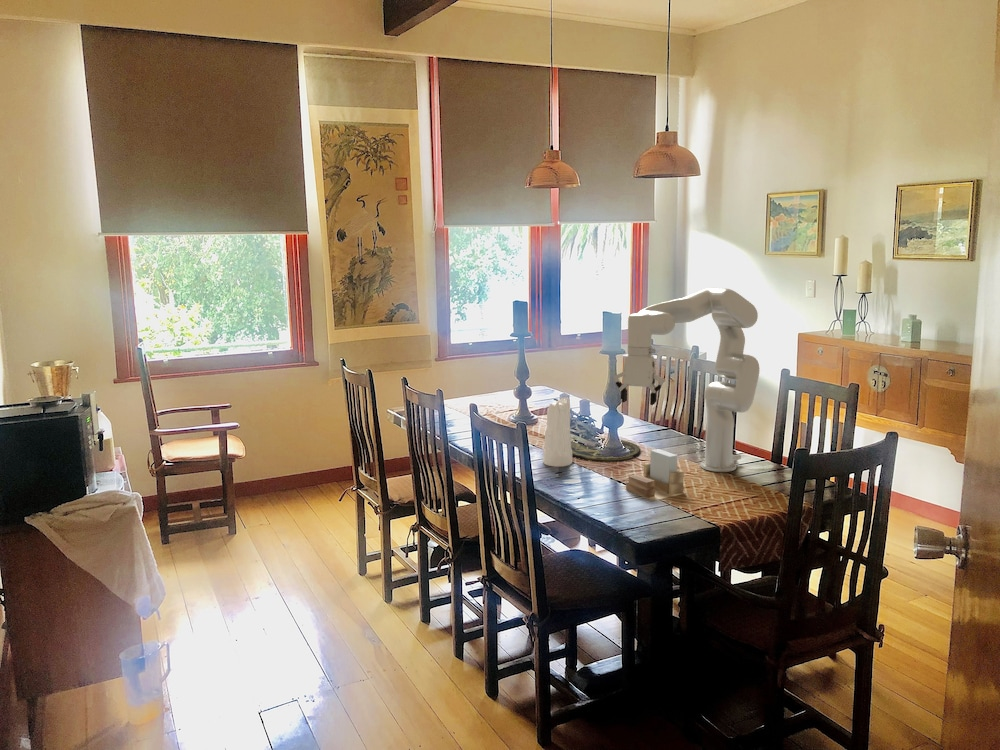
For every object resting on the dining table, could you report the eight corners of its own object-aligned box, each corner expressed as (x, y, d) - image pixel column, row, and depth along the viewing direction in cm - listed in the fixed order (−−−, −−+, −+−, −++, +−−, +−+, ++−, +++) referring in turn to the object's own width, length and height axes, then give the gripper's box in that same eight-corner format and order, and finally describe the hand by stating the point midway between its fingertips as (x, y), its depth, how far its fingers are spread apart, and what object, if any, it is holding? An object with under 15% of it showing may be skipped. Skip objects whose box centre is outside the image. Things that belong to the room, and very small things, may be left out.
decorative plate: (553, 440, 317) (621, 435, 325) (553, 445, 317) (621, 439, 325) (580, 461, 289) (654, 454, 297) (580, 466, 289) (654, 459, 297)
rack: (654, 483, 266) (655, 460, 265) (687, 496, 253) (688, 472, 251) (620, 490, 259) (620, 466, 257) (652, 504, 245) (653, 479, 244)
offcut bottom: (634, 487, 258) (634, 480, 257) (654, 496, 249) (654, 488, 249) (625, 489, 256) (626, 482, 256) (646, 498, 248) (646, 490, 247)
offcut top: (636, 481, 256) (636, 474, 256) (654, 488, 250) (654, 480, 249) (628, 483, 254) (628, 476, 254) (646, 490, 248) (646, 482, 247)
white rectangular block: (657, 483, 262) (658, 448, 260) (676, 490, 255) (677, 455, 253) (649, 485, 261) (650, 450, 258) (668, 492, 253) (669, 456, 251)
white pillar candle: (541, 466, 287) (541, 399, 283) (544, 457, 298) (544, 393, 293) (571, 467, 286) (571, 400, 281) (573, 459, 296) (573, 394, 292)
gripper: (668, 351, 253) (667, 403, 256) (618, 348, 261) (617, 398, 264) (661, 354, 246) (660, 407, 249) (610, 351, 254) (609, 402, 258)
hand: (638, 402), depth 257 cm, fingers open, 9 cm apart
